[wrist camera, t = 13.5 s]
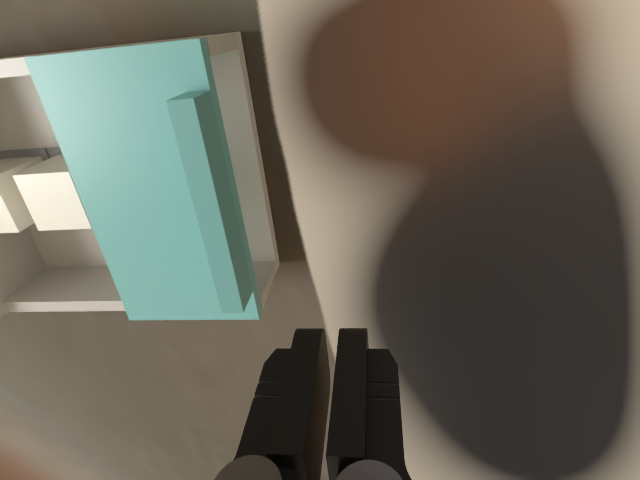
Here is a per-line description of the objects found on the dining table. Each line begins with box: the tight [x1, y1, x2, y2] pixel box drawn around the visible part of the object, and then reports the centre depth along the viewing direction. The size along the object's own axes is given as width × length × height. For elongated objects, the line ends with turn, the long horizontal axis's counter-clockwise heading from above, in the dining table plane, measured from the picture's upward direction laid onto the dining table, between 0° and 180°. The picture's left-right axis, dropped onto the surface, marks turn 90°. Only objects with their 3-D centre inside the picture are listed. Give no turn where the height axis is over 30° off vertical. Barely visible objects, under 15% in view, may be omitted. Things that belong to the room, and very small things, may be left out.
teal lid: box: [24, 37, 262, 320], centre depth 21 cm, size 8×15×3 cm, turn 5°
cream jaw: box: [12, 154, 92, 231], centre depth 26 cm, size 4×4×4 cm
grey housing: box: [0, 32, 280, 318], centre depth 25 cm, size 18×15×6 cm
